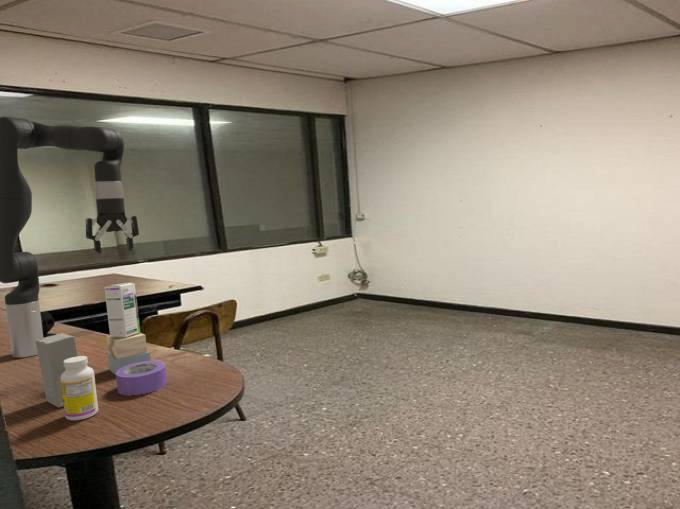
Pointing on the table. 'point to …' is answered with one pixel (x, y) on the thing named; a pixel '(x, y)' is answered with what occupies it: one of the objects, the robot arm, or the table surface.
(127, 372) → the tape roll
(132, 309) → the syrup box
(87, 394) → the supplement bottle
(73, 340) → the skincare box
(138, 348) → the maple block
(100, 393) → the table surface
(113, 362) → the slate slab
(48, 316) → the webcam
